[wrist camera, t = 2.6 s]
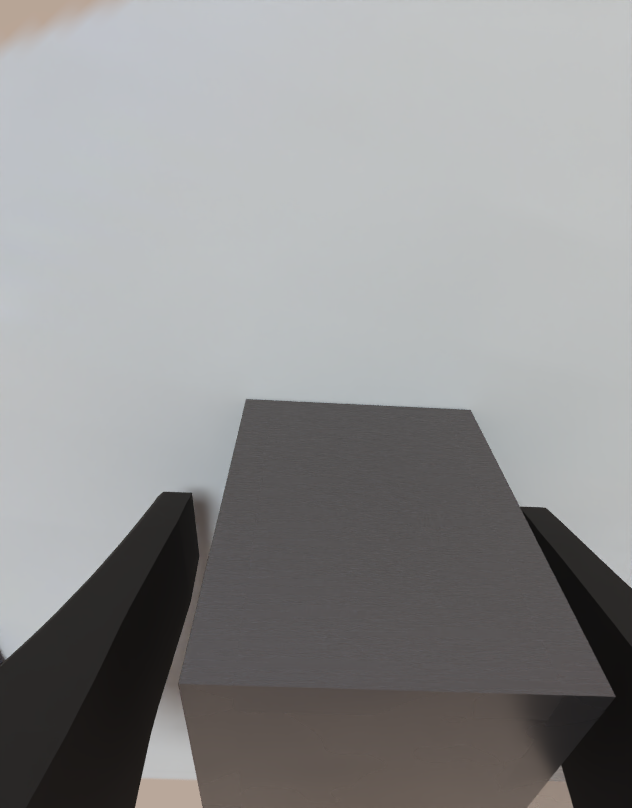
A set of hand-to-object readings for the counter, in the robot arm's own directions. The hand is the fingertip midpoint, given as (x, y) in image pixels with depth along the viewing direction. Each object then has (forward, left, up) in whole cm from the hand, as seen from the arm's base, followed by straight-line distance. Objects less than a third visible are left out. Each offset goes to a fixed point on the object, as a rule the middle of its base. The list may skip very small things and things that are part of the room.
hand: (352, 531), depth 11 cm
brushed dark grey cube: (0, 0, -1) cm, 1 cm away
